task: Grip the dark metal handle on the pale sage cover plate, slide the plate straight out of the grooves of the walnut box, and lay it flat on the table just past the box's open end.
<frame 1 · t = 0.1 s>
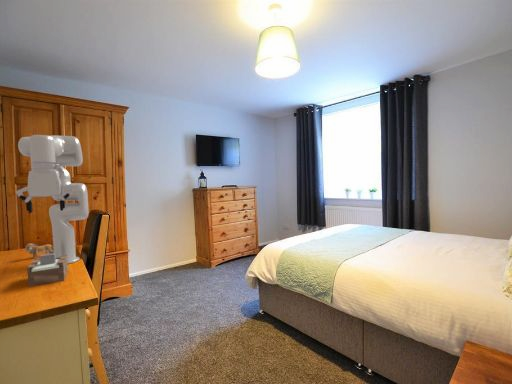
hand: (46, 211, 104), 31 cm above the table, tool pointing down, fingers open, 9 cm apart
lion figurine: (41, 257, 156), on the table
cover plate: (48, 265, 117), point 6 cm above the table, touching slide box
slide box: (49, 278, 118), on the table
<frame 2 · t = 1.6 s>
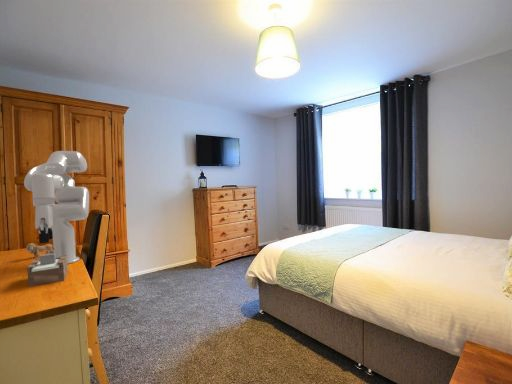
hand: (46, 241, 116), 17 cm above the table, tool pointing down, fingers open, 9 cm apart
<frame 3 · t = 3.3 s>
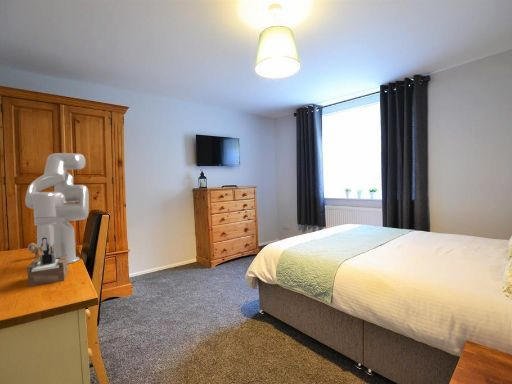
hand: (48, 261, 117), 8 cm above the table, tool pointing down, fingers closed on cover plate, 3 cm apart
cover plate: (48, 265, 117), point 6 cm above the table, touching gripper, slide box
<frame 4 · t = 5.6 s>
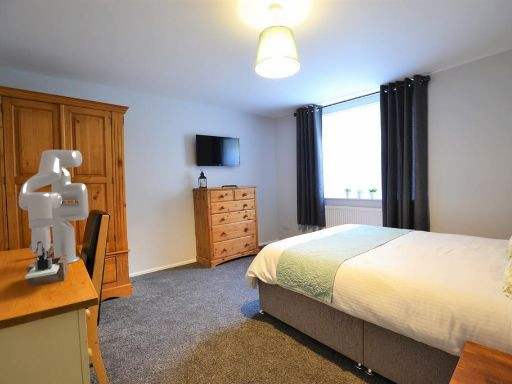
hand: (43, 267, 108), 8 cm above the table, tool pointing down, fingers closed on cover plate, 3 cm apart
cover plate: (44, 271, 108), point 6 cm above the table, touching gripper
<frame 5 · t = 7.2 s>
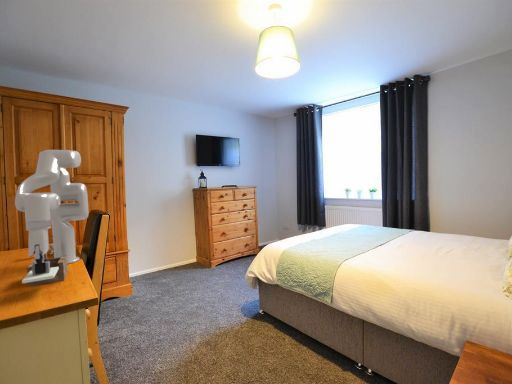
hand: (41, 271, 104), 8 cm above the table, tool pointing down, fingers closed on cover plate, 3 cm apart
cover plate: (41, 275, 104), point 6 cm above the table, touching gripper
when the fingers open (3 cm above the table, at t = 8.4 s): cover plate drops 2 cm, on the table.
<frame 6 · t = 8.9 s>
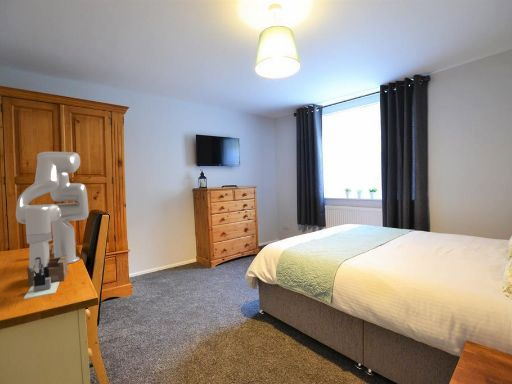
hand: (42, 281, 104), 3 cm above the table, tool pointing down, fingers open, 8 cm apart
cover plate: (42, 291, 105), on the table
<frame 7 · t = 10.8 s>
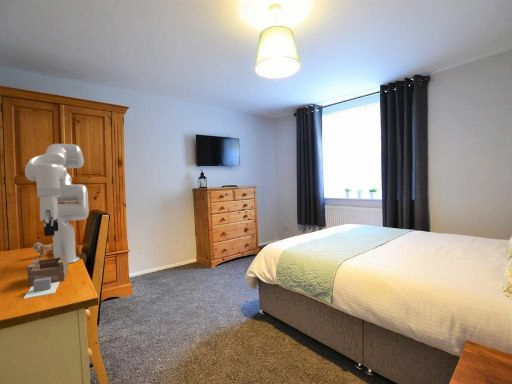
hand: (51, 233, 112), 21 cm above the table, tool pointing down, fingers open, 9 cm apart
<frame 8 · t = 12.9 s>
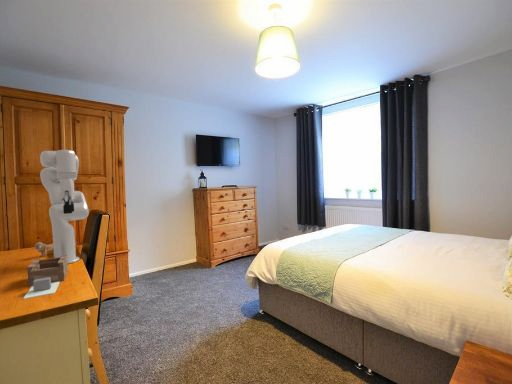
hand: (69, 212, 126), 28 cm above the table, tool pointing down, fingers open, 9 cm apart
at the end: cover plate inside the target area (0.1 cm from its centre), on the table; cover plate tilted 0°; cover plate touching table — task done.
